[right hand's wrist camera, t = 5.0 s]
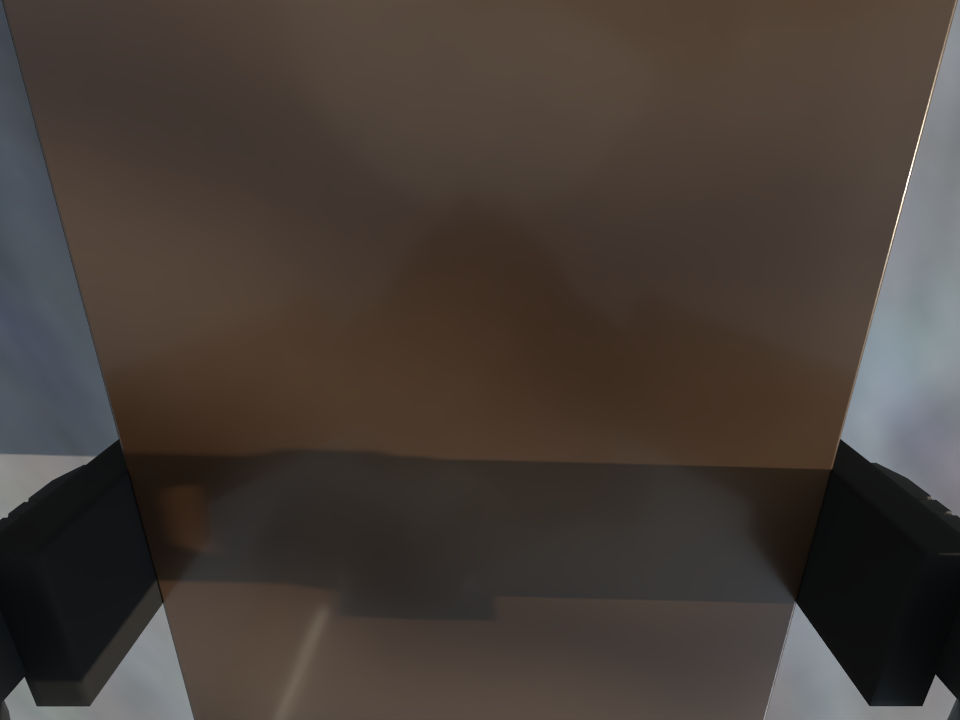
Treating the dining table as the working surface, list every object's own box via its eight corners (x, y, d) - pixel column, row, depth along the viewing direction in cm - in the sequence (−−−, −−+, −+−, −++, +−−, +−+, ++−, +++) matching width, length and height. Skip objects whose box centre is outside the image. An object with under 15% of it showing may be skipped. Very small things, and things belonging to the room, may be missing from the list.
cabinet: (247, -327, 13) (-520, -1925, 3) (712, -326, 13) (1476, -1916, 3) (334, 464, 21) (199, 746, 11) (625, 464, 21) (758, 747, 11)
